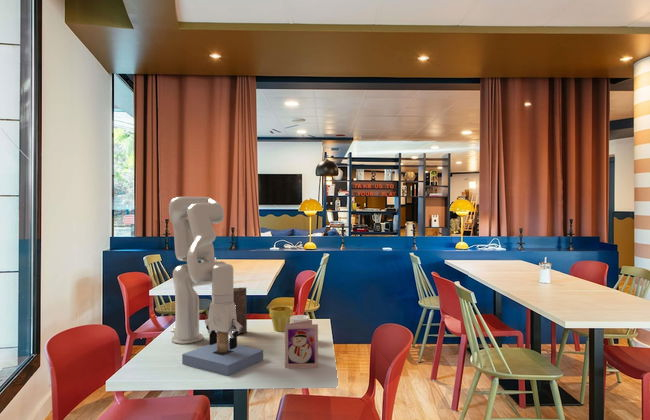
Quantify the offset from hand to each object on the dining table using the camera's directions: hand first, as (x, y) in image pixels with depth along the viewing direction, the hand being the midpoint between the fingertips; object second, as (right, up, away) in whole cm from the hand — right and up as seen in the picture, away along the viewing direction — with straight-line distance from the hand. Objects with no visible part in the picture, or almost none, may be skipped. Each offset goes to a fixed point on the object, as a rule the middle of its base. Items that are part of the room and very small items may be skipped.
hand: (223, 346), depth 160 cm
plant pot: (+17, -5, +41) cm, 45 cm away
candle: (-2, -6, +36) cm, 37 cm away
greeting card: (+28, -6, -3) cm, 29 cm away
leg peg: (0, -6, 0) cm, 6 cm away
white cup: (+26, -6, +24) cm, 36 cm away
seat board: (0, -6, 0) cm, 6 cm away
